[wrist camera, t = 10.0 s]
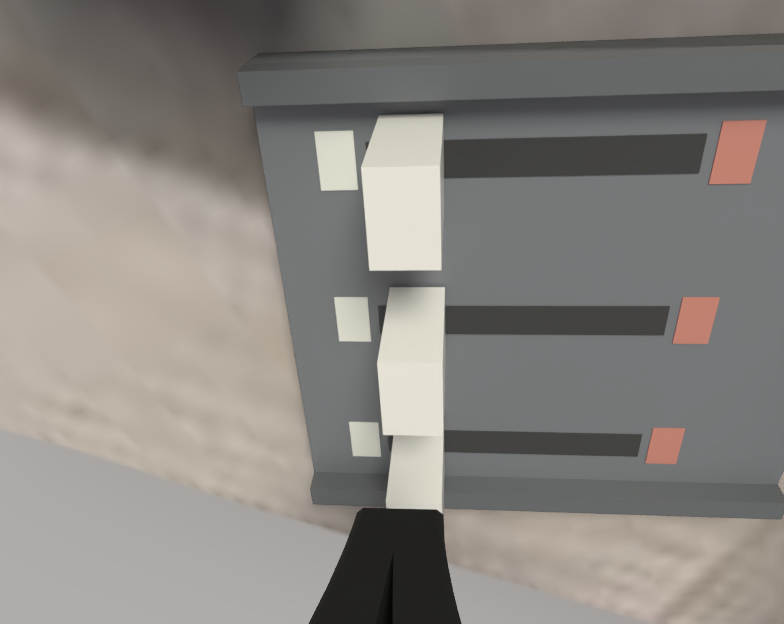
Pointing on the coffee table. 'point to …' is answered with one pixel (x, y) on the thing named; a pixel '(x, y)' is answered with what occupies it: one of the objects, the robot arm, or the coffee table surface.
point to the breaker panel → (550, 268)
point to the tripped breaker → (416, 473)
